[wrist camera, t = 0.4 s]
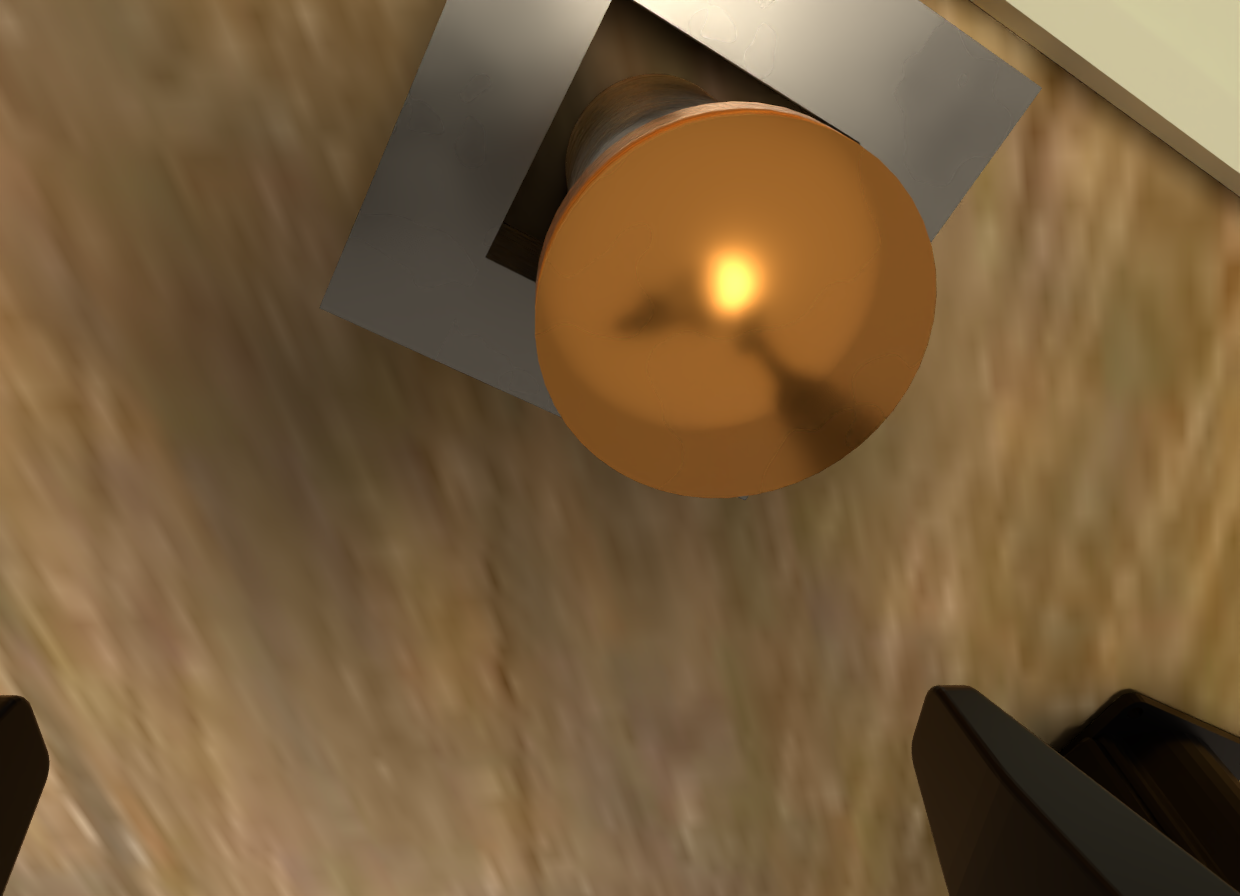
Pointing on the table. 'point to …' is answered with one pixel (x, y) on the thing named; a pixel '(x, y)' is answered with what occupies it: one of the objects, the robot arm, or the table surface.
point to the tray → (1149, 65)
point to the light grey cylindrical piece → (726, 290)
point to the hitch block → (529, 98)
